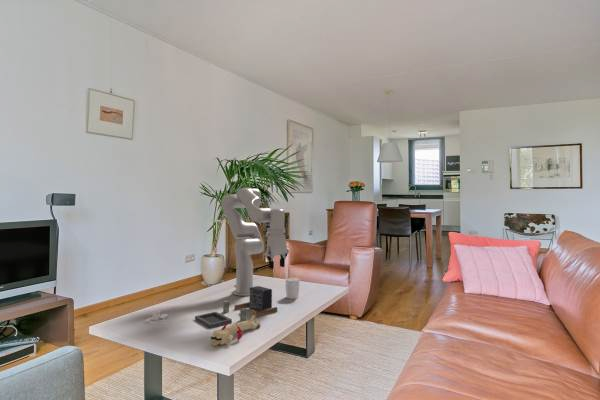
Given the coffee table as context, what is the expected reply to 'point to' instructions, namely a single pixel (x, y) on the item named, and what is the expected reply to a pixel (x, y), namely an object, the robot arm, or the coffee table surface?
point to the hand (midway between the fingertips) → (276, 267)
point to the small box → (260, 298)
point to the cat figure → (233, 330)
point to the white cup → (292, 288)
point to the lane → (244, 311)
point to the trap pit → (213, 319)
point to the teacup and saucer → (157, 316)
